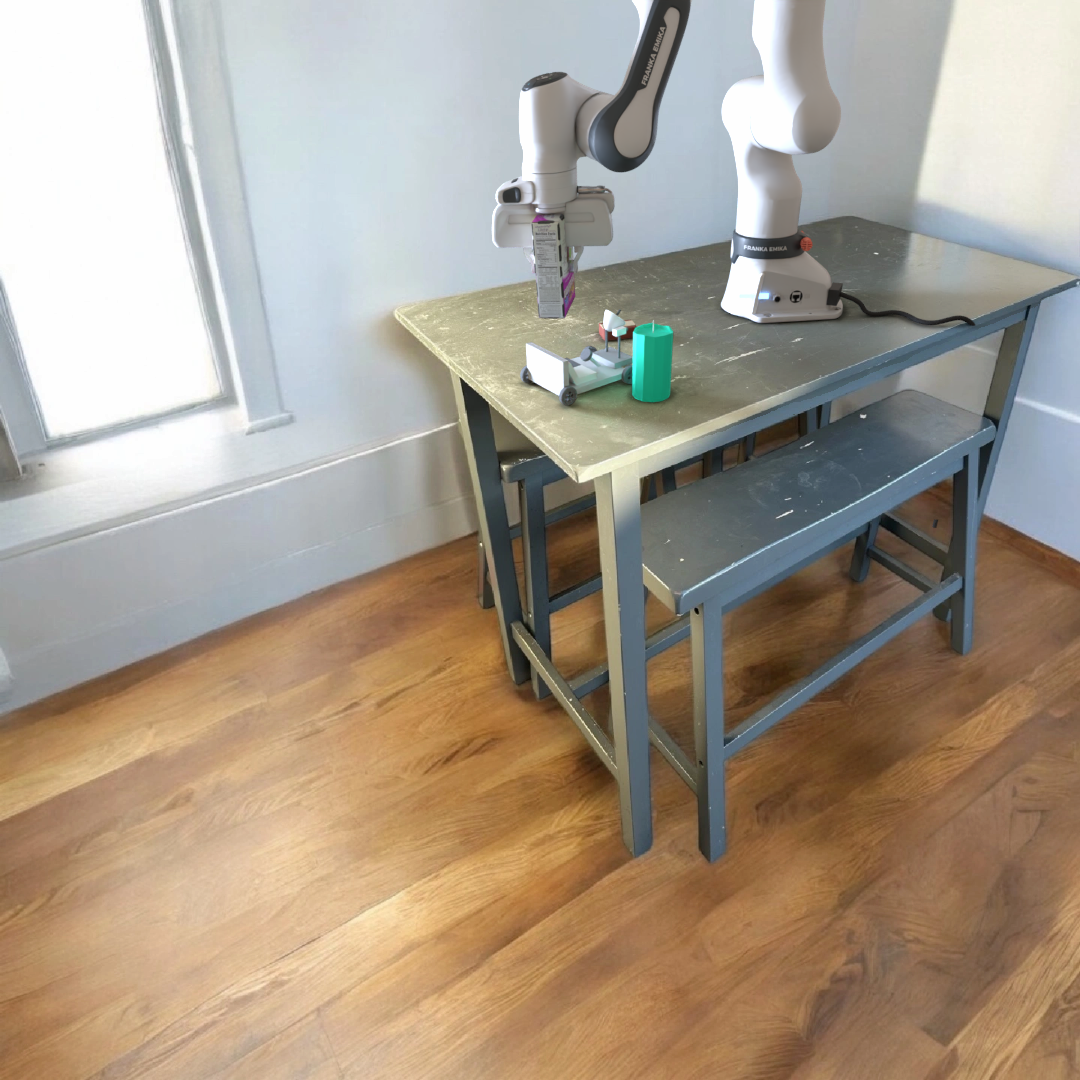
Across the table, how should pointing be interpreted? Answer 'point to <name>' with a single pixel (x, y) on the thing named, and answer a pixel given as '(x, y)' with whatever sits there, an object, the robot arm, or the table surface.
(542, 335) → the table surface
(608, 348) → the toy car
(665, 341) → the candle
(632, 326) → the matchbox
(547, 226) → the candy bar box
